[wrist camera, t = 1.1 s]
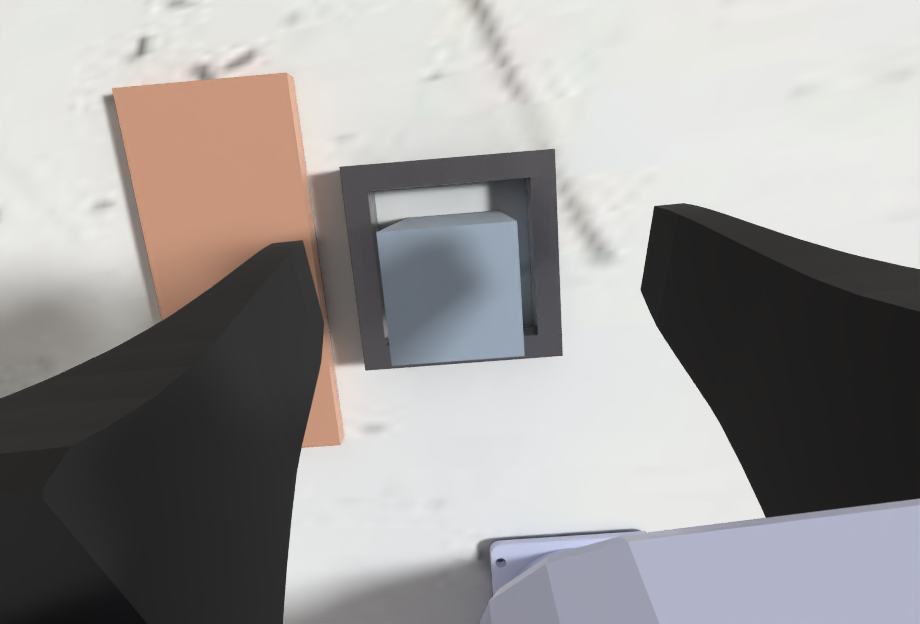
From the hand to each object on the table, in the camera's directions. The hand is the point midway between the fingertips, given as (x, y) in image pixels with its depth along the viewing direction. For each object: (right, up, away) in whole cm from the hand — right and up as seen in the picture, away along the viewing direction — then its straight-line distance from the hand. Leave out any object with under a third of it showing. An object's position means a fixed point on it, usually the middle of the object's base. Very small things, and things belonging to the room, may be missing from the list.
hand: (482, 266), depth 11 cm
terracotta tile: (-10, +1, +12) cm, 16 cm away
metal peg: (-1, +1, +12) cm, 12 cm away
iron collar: (-1, +1, +12) cm, 12 cm away
